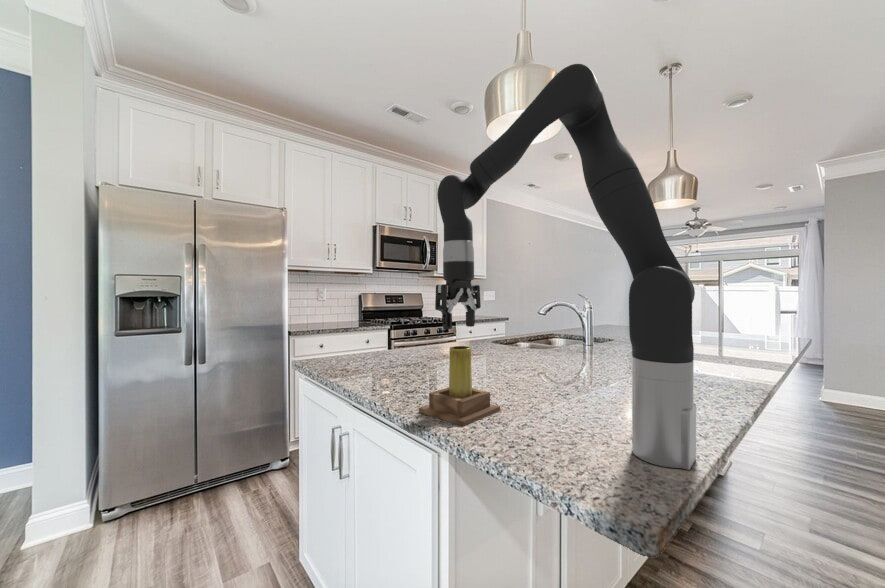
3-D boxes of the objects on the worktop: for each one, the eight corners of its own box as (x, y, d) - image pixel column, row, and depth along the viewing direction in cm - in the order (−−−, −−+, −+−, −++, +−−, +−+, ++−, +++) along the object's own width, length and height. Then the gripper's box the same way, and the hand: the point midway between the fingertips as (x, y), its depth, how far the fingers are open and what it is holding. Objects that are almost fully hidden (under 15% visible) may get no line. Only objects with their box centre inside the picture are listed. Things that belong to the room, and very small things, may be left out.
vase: (473, 402, 92) (473, 345, 92) (473, 410, 86) (472, 349, 86) (449, 402, 93) (448, 345, 93) (447, 409, 87) (446, 349, 87)
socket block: (500, 410, 90) (500, 392, 90) (463, 426, 79) (463, 405, 79) (456, 399, 99) (456, 382, 99) (418, 411, 89) (418, 393, 89)
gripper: (450, 257, 81) (451, 331, 81) (488, 261, 92) (489, 326, 92) (426, 260, 86) (427, 329, 86) (465, 263, 97) (465, 325, 97)
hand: (459, 327), depth 89 cm, fingers open, 8 cm apart
